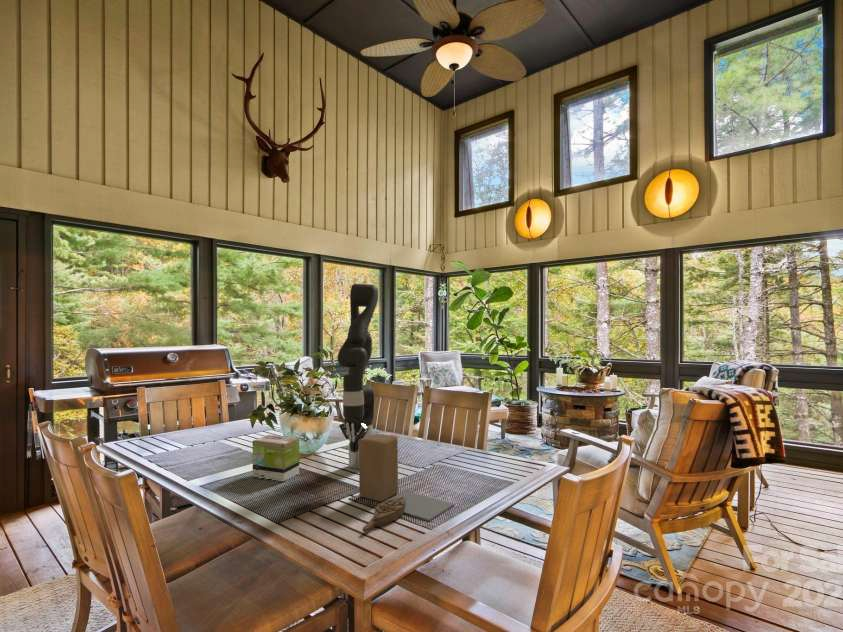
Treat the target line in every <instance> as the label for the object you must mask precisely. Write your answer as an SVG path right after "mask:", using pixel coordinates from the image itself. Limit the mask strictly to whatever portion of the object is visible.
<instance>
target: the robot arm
mask: <svg viewBox="0 0 843 632" xmlns="http://www.w3.org/2000/svg"><path fill="white" fill-rule="evenodd" d="M349 292H350V293H349V299H350V300H349V301H350V302H349V305H350V308H349V309H350V325H349V329H348V333H347V336H346V339H345V341H344V342H343V344H342V345H341V347H340V349H339V350H338V354H337V359H336V360H337V362H338V364H339V366H340V367H341V368H348V373H347V374H345V375H343V381H342V383H343V386H342V387H343V388H342V389H343V393H342V416H343V418H344V419H343V423H341V424H339V425H338V427H339V428H340V430H341V433H342V434H343V436H344V438H345V439H346V440H348V441H349V442H348V466H350V467H351V468H352V469H355V470H359V440H360V439H361V438H364V437H367V436H370V435H373V434H374V433H373V432H374V430H373V429H374V428H373V426H374V425H373V424H374V422H373V420H374V417H375V416H374V415H375V392H374V389H373V387H372V386H371V385H370V384H364V376H365V375H364V374H365V369H366V366H367V365H368V362H369V361H370V359H371V357H372V353H373V352H372V351H373V350H372V349H373V338H372V336H371V333H370V331H369V327H370V323H371V320H372V318H373V315H374V313H375V310H376V307H377V305H378V299H379V288H378V287H377V285H375V284H367V283H366V284H365V283H353V284H352V285H351V288H350V291H349ZM360 307H363V308H364V310H363V311H362V312H360Z"/></svg>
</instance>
